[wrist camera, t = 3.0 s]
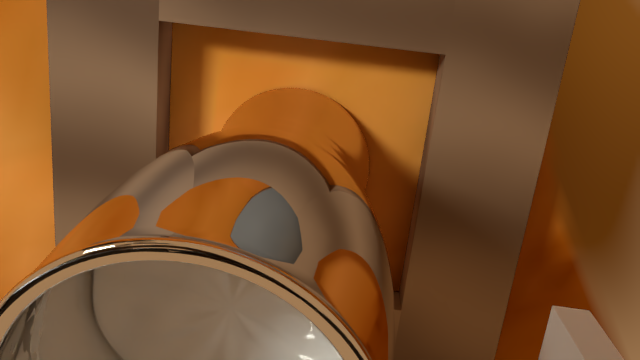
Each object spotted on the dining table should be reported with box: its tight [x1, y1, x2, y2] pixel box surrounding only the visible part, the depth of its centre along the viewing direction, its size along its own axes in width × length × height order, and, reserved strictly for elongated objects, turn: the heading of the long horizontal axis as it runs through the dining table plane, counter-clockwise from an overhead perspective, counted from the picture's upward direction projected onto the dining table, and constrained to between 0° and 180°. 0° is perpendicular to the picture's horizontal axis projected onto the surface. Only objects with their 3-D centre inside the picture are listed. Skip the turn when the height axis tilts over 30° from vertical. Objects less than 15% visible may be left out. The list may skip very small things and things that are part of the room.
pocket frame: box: [47, 0, 580, 360], centre depth 22 cm, size 18×18×2 cm
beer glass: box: [0, 88, 395, 360], centre depth 16 cm, size 7×7×15 cm
